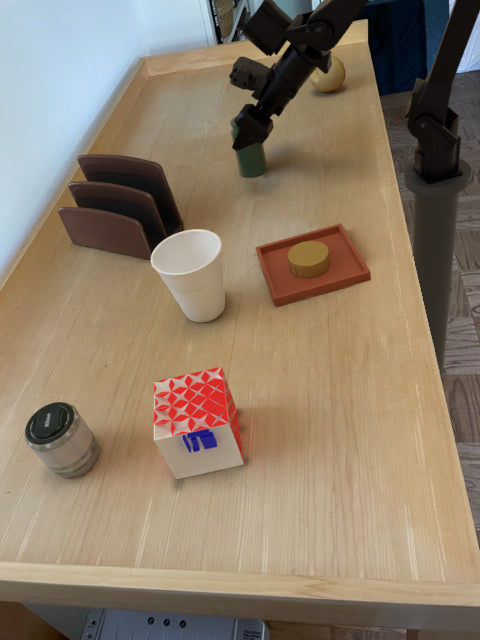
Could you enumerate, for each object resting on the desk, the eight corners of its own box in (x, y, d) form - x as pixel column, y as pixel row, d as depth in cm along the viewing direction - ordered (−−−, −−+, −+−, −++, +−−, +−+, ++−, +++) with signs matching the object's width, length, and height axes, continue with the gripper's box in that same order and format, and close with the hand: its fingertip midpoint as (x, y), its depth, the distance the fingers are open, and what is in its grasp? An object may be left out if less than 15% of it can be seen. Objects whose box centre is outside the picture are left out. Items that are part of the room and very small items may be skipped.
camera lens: (102, 430, 67) (76, 391, 62) (100, 473, 62) (72, 436, 57) (54, 442, 67) (24, 405, 62) (48, 487, 62) (16, 450, 57)
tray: (341, 231, 86) (341, 223, 85) (371, 280, 77) (370, 271, 75) (256, 255, 86) (255, 247, 85) (275, 307, 77) (273, 298, 76)
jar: (264, 160, 108) (254, 109, 101) (270, 172, 104) (260, 120, 97) (237, 167, 108) (226, 117, 101) (242, 180, 104) (231, 129, 97)
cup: (162, 328, 78) (137, 270, 71) (190, 284, 84) (170, 226, 77) (222, 338, 74) (203, 278, 67) (248, 290, 80) (233, 230, 73)
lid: (282, 272, 81) (280, 260, 80) (302, 249, 84) (300, 237, 83) (317, 282, 78) (316, 269, 76) (336, 257, 81) (335, 245, 80)
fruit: (313, 87, 130) (309, 52, 124) (347, 82, 128) (345, 47, 122) (309, 100, 125) (305, 65, 119) (345, 96, 122) (343, 59, 117)
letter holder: (105, 214, 106) (76, 148, 96) (185, 228, 96) (162, 156, 87) (72, 244, 100) (37, 177, 91) (153, 262, 91) (125, 189, 81)
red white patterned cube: (236, 408, 65) (222, 366, 60) (244, 464, 59) (229, 423, 54) (173, 422, 65) (152, 382, 60) (174, 479, 60) (152, 440, 54)
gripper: (268, 21, 95) (224, 88, 106) (234, 63, 83) (188, 133, 94) (316, 64, 97) (268, 124, 109) (289, 110, 85) (239, 173, 97)
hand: (241, 137), depth 102 cm, fingers open, 9 cm apart
